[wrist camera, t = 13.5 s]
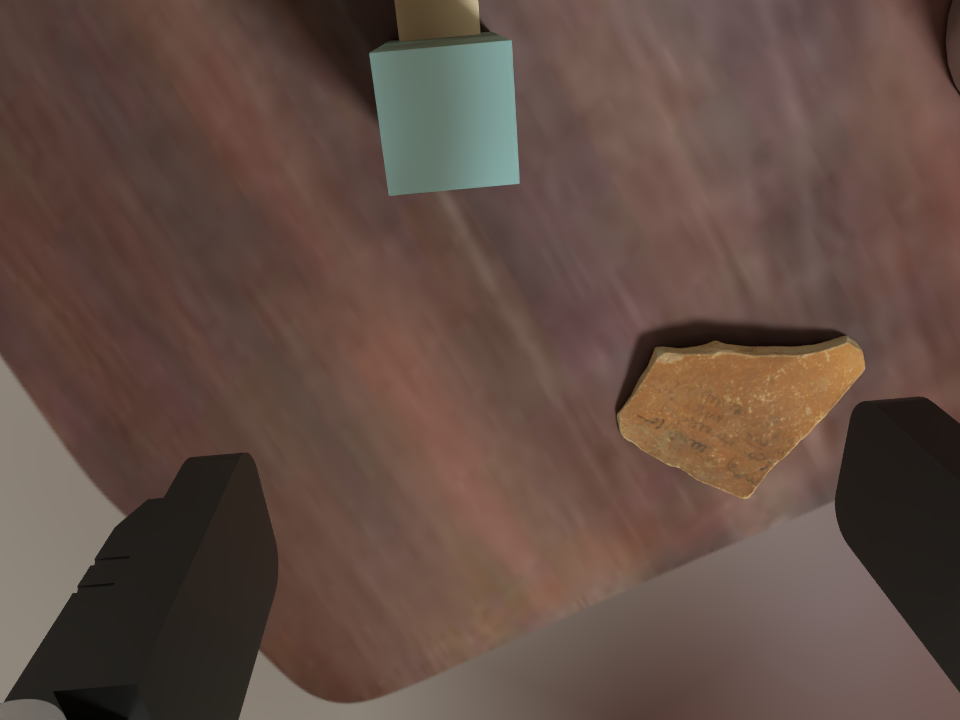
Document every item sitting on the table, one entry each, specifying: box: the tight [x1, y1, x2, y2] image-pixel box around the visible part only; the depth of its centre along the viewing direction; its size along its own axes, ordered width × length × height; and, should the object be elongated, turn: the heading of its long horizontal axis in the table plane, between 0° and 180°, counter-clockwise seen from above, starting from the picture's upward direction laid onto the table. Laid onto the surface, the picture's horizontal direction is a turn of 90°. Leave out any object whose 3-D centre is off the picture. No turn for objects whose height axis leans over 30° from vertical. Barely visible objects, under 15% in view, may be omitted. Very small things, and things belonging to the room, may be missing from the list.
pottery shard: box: [617, 336, 865, 499], centre depth 35 cm, size 10×9×2 cm
